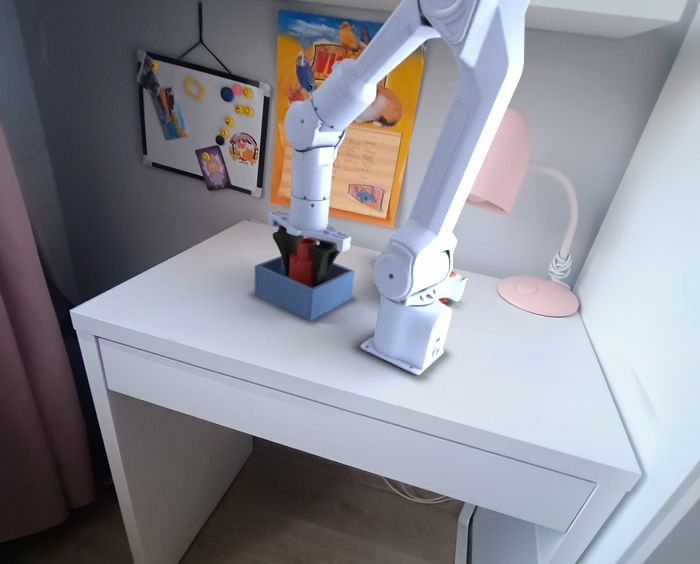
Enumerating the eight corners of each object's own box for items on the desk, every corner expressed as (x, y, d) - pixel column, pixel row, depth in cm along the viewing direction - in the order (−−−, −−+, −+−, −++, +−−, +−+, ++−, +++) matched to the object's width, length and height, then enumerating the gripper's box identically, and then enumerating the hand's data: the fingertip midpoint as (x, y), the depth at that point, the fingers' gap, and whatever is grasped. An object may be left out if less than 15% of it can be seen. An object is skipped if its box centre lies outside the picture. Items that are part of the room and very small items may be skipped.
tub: (351, 298, 79) (354, 270, 76) (310, 321, 71) (313, 290, 68) (297, 276, 84) (299, 249, 81) (254, 294, 76) (254, 265, 73)
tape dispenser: (382, 266, 95) (351, 300, 79) (385, 241, 93) (354, 269, 76) (469, 282, 91) (456, 321, 74) (474, 256, 89) (463, 290, 72)
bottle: (325, 294, 78) (330, 242, 73) (305, 304, 74) (309, 250, 69) (302, 283, 80) (305, 232, 75) (281, 293, 76) (283, 239, 71)
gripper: (254, 186, 68) (254, 272, 76) (333, 213, 62) (325, 303, 70) (286, 180, 74) (283, 261, 81) (363, 204, 67) (351, 289, 75)
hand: (304, 280), depth 76 cm, fingers closed on bottle, 5 cm apart
